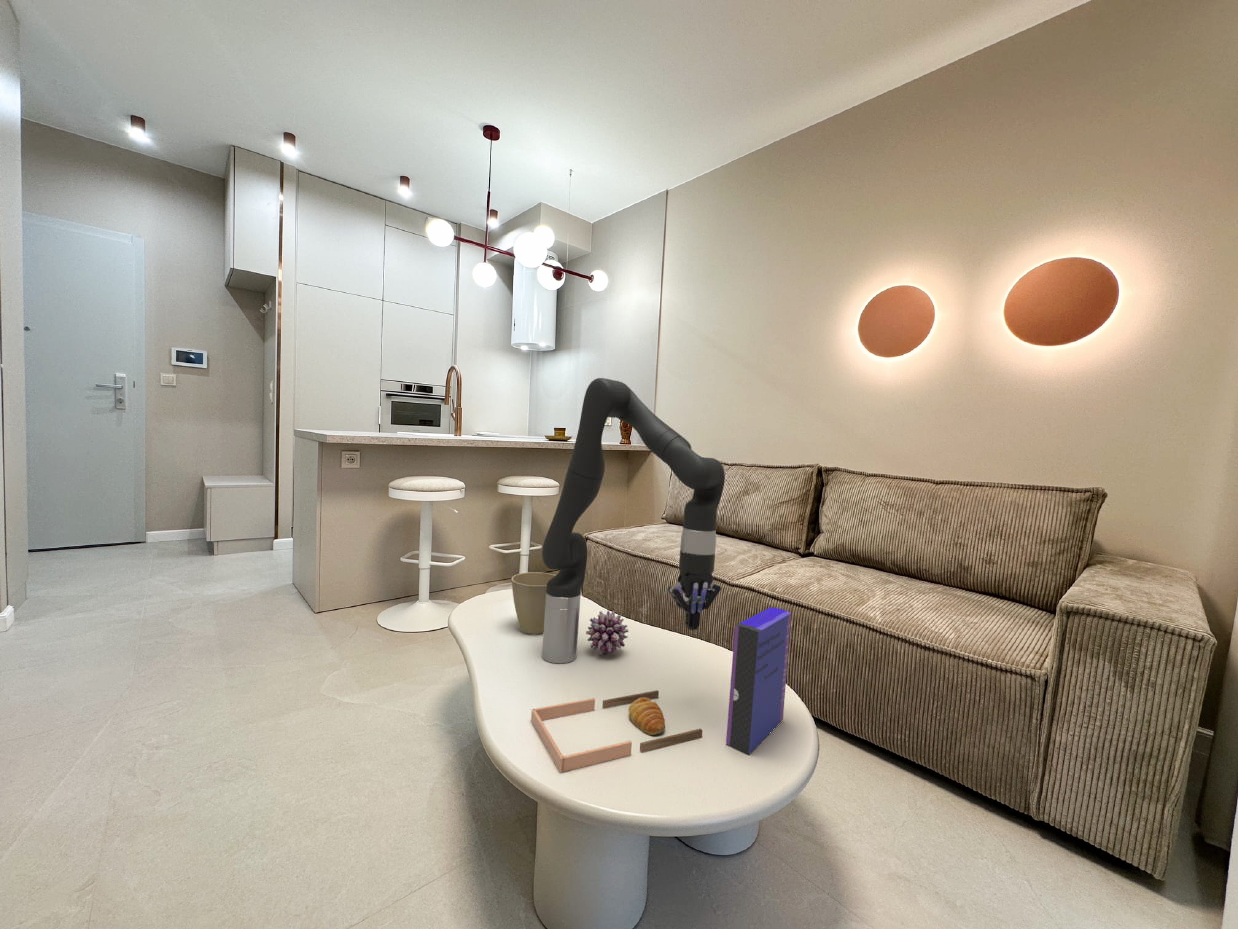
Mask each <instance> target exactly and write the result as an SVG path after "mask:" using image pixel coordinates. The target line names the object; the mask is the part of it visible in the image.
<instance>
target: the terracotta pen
mask: <svg viewBox="0 0 1238 929" xmlns="http://www.w3.org/2000/svg"><path fill="white" fill-rule="evenodd" d="M595 703H596V699H595V697H593V698H587V699H581V700H575V701H570V702H565V703H558V704H555V705H554V704H553V705H548V706H544V707H543V706H542V707H537V708H532V709H531V712H530V713H531V715H530V721H531V723H532V725H533V727H534V728H535V729H534V730H536V733H537V734H538V736H539V738H540V740H541V741H542V743H543V744H544V747H545V748H546V750H547V752H548V754H549V755H550V757H551V759H552V761H553V762H554V765H555V766H556V768H557V769H558V771H559V773H560V774H562V773H565V772H569V771H572V770H573V771H574V770H577V769H581V768H584V767H589V766H593V765H596V764H601V763H605V762H609V761H612V760H613V761H614V760H617V759H620V758H625V757H630V756H631V755H632V748H633V747H632V746H633V745H632V744H633V743H632V741H631V740H627V741H623V742H618V743H615V744H610V745H606V746H601V747H597V748H592V749H589V750H585V751H580V752H576V753H571V754H568V755H567V754H566V755H563V754H562V752H561V750H560V749H559V746H558V745H557V743H556V742H555V740H554V739H553V737H552V734H550V732H549V730H548V729H547V727H546V726H545V723H544V722H543V721H546V720H551V719H556V718H561V717H567V716H572V715H578V714H583V713H587V712H594V711H595V706H596V704H595Z"/></svg>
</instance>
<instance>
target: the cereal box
mask: <svg viewBox="0 0 1238 929" xmlns="http://www.w3.org/2000/svg"><path fill="white" fill-rule="evenodd" d="M791 622H792V612H790V611H787V610H785V609H781V608H777V607H776V608H775V607H772V606H771V607H768V608H766V609H764V610H762V611H760V612H758V613H756V614H753V615H752V616H750V617H748V618H747V619H745V620H743V621H740V622H739V623H737V624H735V625H734V635H733V647H732V648H733V649H732V658H731V659H732V661H731V673H730V674H731V675H730V688H729V700H728V715H727V726H726V727H727V728H726V739H725V746H728V747H730V748H732V749H734V750H736V751H739V752H740V753H742V754H744V755H747V756H750V755H751V754H752V753H753V752H754V751H755V750H756V749H757V748H758V747H759V746H760V745H761V744H762V743H763V742H764V741H765V740H766V738H768V737H769V736H770V735H771V733H773V732H774V730H775V729H777V727H778V726H779V725H780V724H781V723H782V722H783V721H784V711H785V698H786V697H785V696H786V685H787V672H788V662H789V661H788V659H789V650H790V649H789V648H790V646H789V645H790V634H791V625H792V624H791ZM782 720H783V721H782ZM781 721H782V722H781ZM780 722H781V723H780ZM779 723H780V724H779ZM778 724H779V725H778ZM777 725H778V726H777ZM776 726H777V727H776ZM774 728H775V729H774ZM773 729H774V730H773ZM770 732H771V733H770ZM764 739H765V740H764ZM763 740H764V741H763ZM762 741H763V742H762ZM761 742H762V743H761Z"/></svg>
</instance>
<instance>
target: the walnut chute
mask: <svg viewBox="0 0 1238 929" xmlns="http://www.w3.org/2000/svg"><path fill="white" fill-rule="evenodd" d="M659 693H660V691H659V690H658V689H656V690H650V691H646V692H640V693H635V694H629V695H624V696H619V697H614V698H608V699H604V700H602V709H608V708H612V707H617V706H623V705H628V704H629V705H630V704H632V703H633V702H634V701H635V700H637V699H639V698H641V697H646V698H649V699H650V700H654V699H659V696H660V695H659ZM701 738H703V729H702V728H701V727H700V728H696V729H694V730H693V729H692V730H688V731H685V732H679V733H675V734H672V735H668V736H664V737H659V738H655V739H652V740H651V739H650V740H647V741H643V742H639V751H640V753H644V752H645V753H646V752H649V751H653V750H656V749H662V748H666V747H669V746H673V745H678V744H681V743H684V742H689V741H693V740H697V739H701Z"/></svg>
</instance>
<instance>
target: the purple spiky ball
mask: <svg viewBox="0 0 1238 929" xmlns="http://www.w3.org/2000/svg"><path fill="white" fill-rule="evenodd" d="M598 613H599V614H597V617H598V618H596V617H594V616H593V618H592V617H591V618H590V619H589V621H590V622H591V623H590V626H588V627H587V629H588V630H586V631H585V632H586V633H585V634H586V635H589V636H590V637H589V638H587V641H588V642H592V643H591V644H590V648H593V649H594V650H595V651H596V650H597V649H598V650H599V655H603V654H604V655H607V654H608V652H609V653H612V655H615V654H616V651H617V648H618V649H620V650H621V648H624V647H625V646H626V644H625V642H624V640H625V639H627V638H628V635H625V634H626V633H629V628H628V627H629V626H628V624H622V623H623V621H624V620H625V619H624V618H621V617H622V615H621V614H618V615H617V616H615V615H616V614H615V613H616V611H615V610H612V611H611V613H610V610H607V611H606V614H605V613H603V611H602V610H601V611H599V612H598Z"/></svg>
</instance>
